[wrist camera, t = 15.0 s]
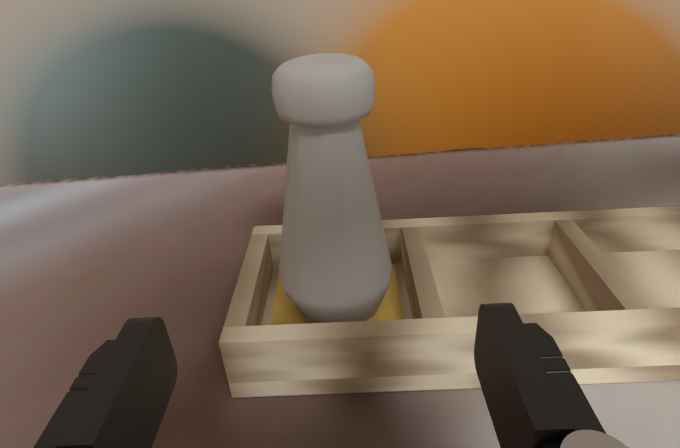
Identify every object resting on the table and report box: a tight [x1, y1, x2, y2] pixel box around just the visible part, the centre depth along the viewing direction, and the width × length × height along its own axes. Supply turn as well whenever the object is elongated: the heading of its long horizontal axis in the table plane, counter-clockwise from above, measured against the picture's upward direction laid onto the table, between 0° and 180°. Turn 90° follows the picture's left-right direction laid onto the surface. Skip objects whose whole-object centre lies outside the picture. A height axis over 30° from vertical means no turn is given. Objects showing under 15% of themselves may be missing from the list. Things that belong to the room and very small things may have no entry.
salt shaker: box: [272, 53, 392, 323], centre depth 23 cm, size 6×6×13 cm
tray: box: [219, 206, 680, 398], centre depth 26 cm, size 28×10×4 cm, turn 90°
